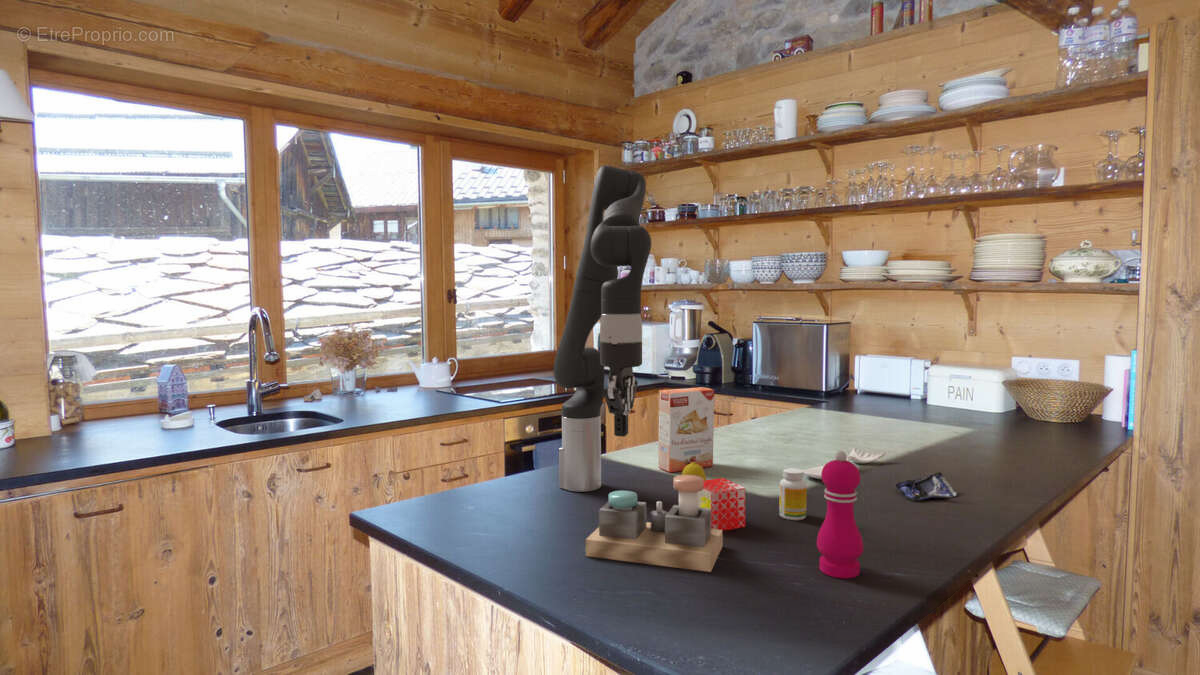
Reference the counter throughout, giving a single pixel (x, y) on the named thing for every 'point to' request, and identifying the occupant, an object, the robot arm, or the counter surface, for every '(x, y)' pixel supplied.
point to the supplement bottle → (792, 495)
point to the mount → (656, 538)
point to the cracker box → (686, 428)
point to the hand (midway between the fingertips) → (621, 435)
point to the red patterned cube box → (723, 503)
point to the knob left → (623, 500)
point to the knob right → (688, 494)
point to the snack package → (926, 488)
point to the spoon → (853, 456)
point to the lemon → (694, 470)
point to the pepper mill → (840, 520)
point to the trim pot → (658, 519)
